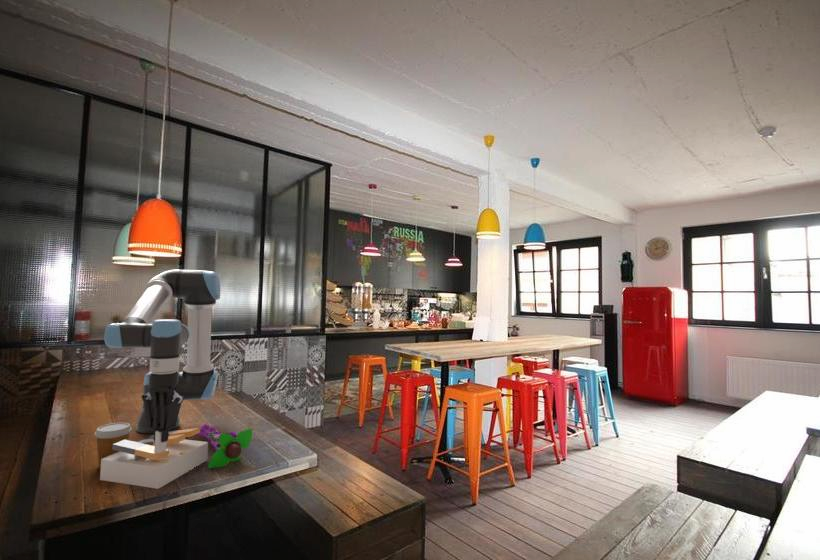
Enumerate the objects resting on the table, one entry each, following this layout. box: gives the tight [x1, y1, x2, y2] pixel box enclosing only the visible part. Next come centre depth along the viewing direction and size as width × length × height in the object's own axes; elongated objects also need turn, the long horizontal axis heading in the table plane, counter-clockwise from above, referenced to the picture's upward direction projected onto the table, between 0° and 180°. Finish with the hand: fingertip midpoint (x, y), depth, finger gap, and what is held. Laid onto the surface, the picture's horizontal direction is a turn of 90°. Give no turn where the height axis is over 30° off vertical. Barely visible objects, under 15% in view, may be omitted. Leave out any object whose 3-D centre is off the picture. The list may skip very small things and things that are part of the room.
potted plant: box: [197, 423, 253, 469], centre depth 141 cm, size 12×16×35 cm
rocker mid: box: [137, 434, 186, 446], centre depth 125 cm, size 16×4×2 cm, turn 79°
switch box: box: [99, 438, 209, 489], centre depth 125 cm, size 20×20×8 cm
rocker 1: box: [112, 439, 169, 460], centre depth 119 cm, size 16×4×2 cm, turn 79°
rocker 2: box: [148, 427, 201, 439], centre depth 132 cm, size 16×4×2 cm, turn 79°
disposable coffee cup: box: [94, 422, 133, 469], centre depth 127 cm, size 10×10×12 cm
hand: (160, 452), depth 117 cm, fingers closed
